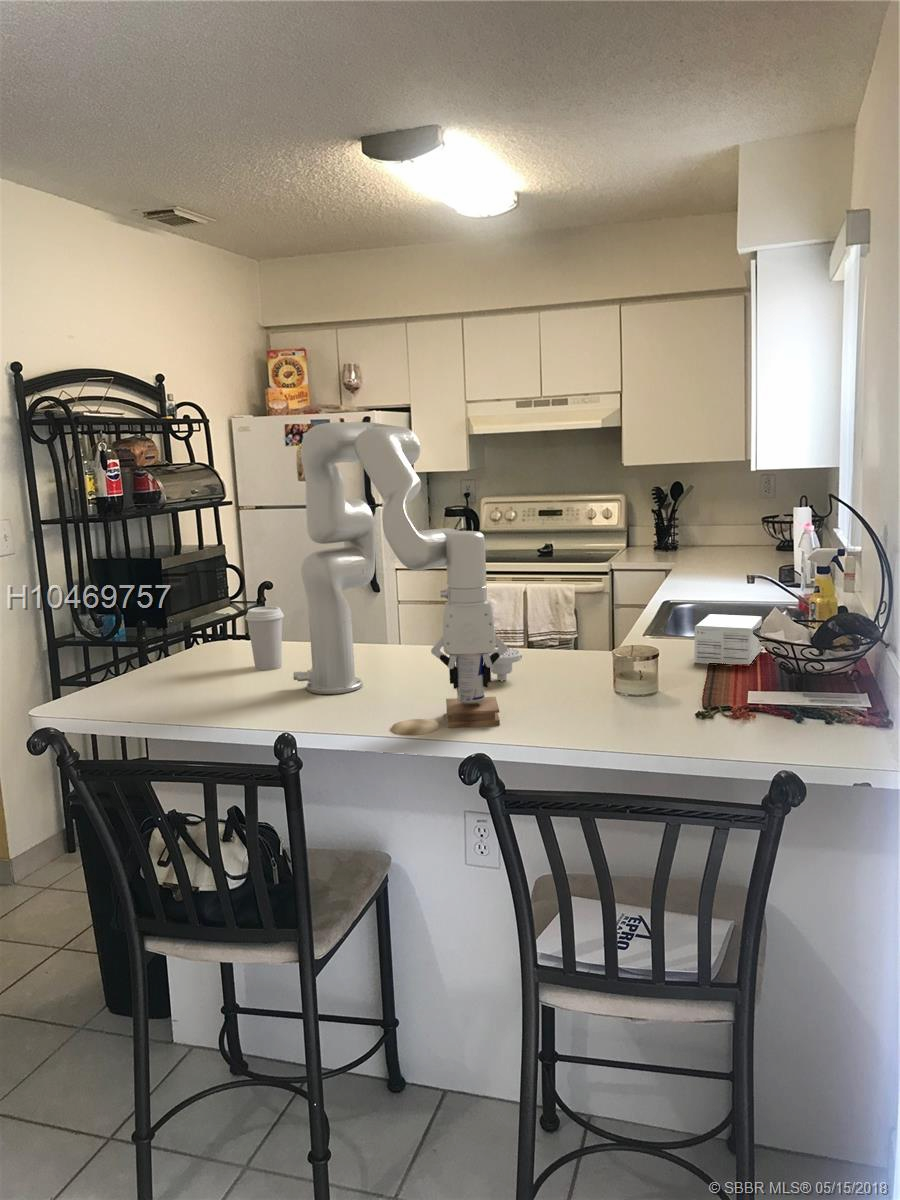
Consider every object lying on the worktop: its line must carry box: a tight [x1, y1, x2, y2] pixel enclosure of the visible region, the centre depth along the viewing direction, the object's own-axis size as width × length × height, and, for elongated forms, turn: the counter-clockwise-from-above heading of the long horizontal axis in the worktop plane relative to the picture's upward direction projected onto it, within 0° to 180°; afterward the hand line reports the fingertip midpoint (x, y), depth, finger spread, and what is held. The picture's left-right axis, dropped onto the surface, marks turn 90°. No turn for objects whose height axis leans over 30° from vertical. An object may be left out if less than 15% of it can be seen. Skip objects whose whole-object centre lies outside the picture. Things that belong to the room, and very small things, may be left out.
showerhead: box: [483, 647, 523, 681], centre depth 215 cm, size 9×7×10 cm
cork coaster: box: [391, 718, 440, 736], centre depth 182 cm, size 9×9×1 cm
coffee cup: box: [244, 605, 285, 671], centre depth 237 cm, size 10×10×15 cm
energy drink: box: [455, 654, 486, 704], centre depth 184 cm, size 5×5×12 cm
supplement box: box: [693, 613, 763, 665], centre depth 228 cm, size 17×13×9 cm
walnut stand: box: [445, 696, 501, 729], centre depth 186 cm, size 10×10×3 cm
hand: (470, 685), depth 185 cm, fingers closed on energy drink, 5 cm apart
